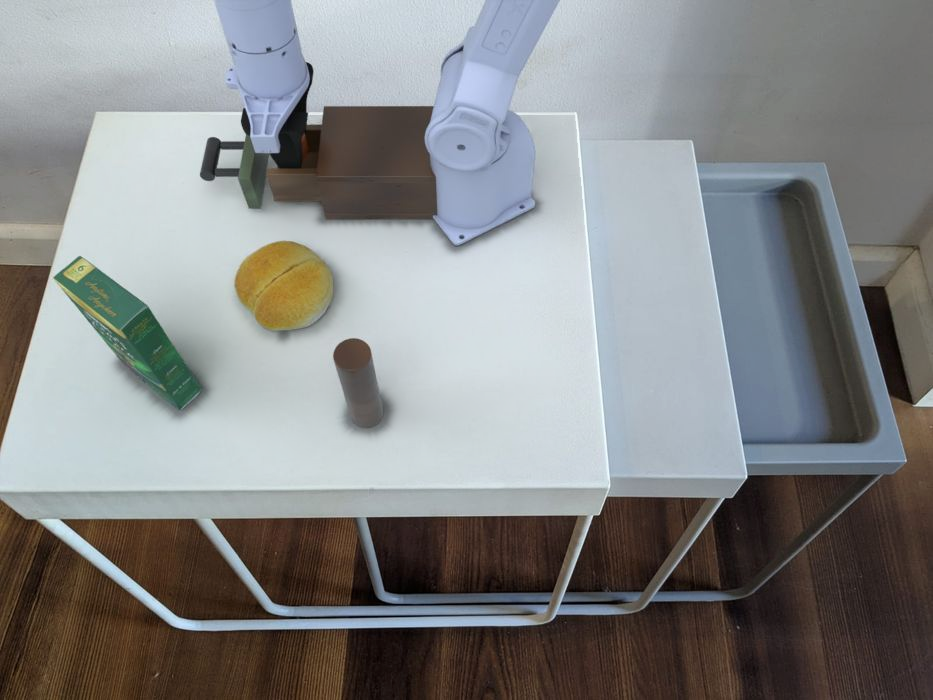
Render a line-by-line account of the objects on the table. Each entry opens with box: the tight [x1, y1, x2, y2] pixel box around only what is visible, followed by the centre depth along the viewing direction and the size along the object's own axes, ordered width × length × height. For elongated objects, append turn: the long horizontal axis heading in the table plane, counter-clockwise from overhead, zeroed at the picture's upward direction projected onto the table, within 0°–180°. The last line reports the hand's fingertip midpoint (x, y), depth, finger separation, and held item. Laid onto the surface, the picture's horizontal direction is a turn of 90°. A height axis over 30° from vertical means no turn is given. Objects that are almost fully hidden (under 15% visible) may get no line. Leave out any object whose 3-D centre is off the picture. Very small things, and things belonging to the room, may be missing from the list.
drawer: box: [199, 124, 322, 210], centre depth 75 cm, size 15×8×4 cm, turn 90°
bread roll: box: [234, 240, 335, 332], centre depth 70 cm, size 8×9×4 cm
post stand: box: [332, 337, 384, 429], centre depth 61 cm, size 3×3×10 cm
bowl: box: [302, 133, 308, 161], centre depth 73 cm, size 3×3×2 cm
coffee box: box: [52, 255, 203, 411], centre depth 61 cm, size 8×3×13 cm, turn 52°
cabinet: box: [316, 105, 437, 220], centre depth 75 cm, size 12×9×6 cm
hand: (292, 151), depth 74 cm, fingers closed on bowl, 3 cm apart
